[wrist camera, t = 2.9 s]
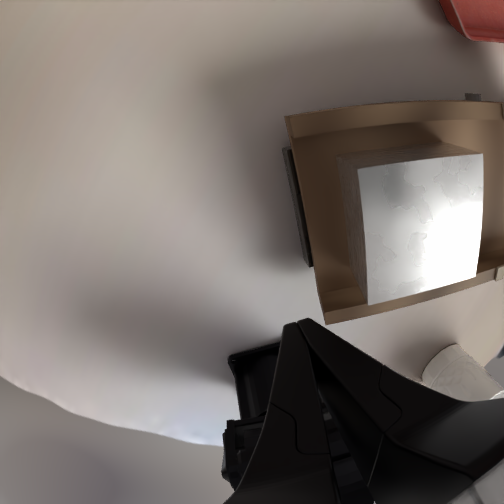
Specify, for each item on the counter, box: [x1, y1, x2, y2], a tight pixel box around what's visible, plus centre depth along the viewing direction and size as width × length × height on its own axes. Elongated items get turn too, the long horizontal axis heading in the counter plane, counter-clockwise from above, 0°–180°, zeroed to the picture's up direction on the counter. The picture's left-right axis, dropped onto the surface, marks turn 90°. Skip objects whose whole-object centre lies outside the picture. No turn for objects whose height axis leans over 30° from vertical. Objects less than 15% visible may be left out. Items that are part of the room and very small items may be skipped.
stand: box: [282, 147, 314, 268], centre depth 18 cm, size 27×10×4 cm, turn 104°
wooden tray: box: [285, 93, 504, 325], centre depth 15 cm, size 27×13×4 cm, turn 104°
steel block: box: [336, 142, 483, 305], centre depth 14 cm, size 7×7×4 cm
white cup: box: [422, 344, 504, 402], centre depth 26 cm, size 8×8×10 cm
